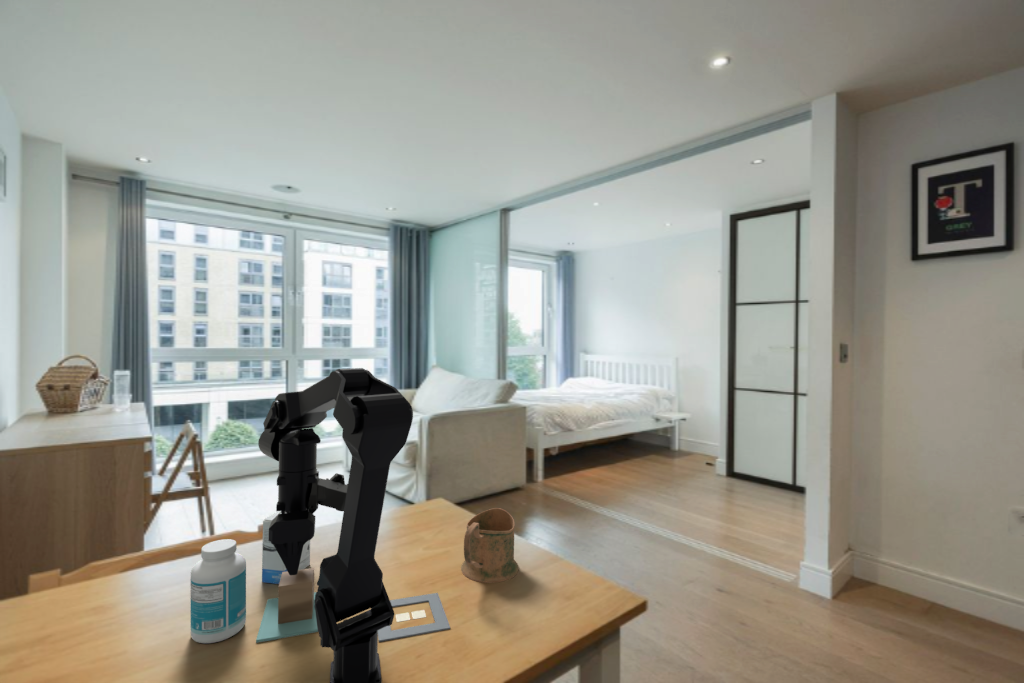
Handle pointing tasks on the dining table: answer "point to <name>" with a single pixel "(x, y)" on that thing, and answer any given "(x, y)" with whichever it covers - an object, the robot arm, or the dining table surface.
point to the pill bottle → (218, 592)
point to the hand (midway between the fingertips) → (296, 561)
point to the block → (296, 596)
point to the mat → (283, 624)
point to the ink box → (277, 556)
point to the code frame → (437, 612)
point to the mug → (490, 547)
